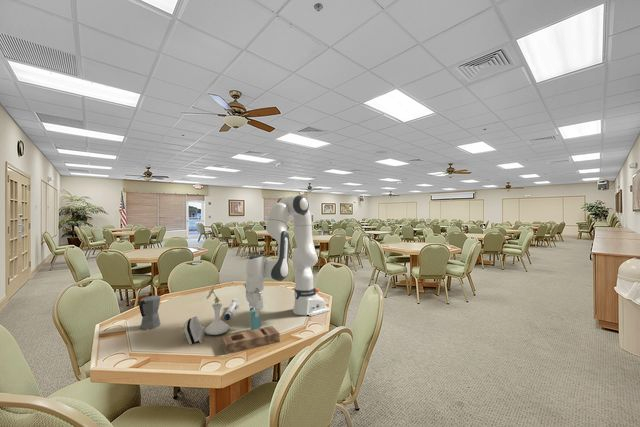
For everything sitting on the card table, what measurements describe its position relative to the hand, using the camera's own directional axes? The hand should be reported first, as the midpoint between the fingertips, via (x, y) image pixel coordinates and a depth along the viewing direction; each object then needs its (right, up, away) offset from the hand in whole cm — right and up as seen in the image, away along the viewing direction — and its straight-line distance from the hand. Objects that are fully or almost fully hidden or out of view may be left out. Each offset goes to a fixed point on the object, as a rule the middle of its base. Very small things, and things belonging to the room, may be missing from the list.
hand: (254, 313), depth 142 cm
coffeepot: (-57, -9, +5) cm, 58 cm away
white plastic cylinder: (-20, -10, +27) cm, 35 cm away
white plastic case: (-27, -9, -7) cm, 29 cm away
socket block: (+2, -8, -15) cm, 17 cm away
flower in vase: (-18, -9, -3) cm, 20 cm away
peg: (+1, -9, 0) cm, 9 cm away
